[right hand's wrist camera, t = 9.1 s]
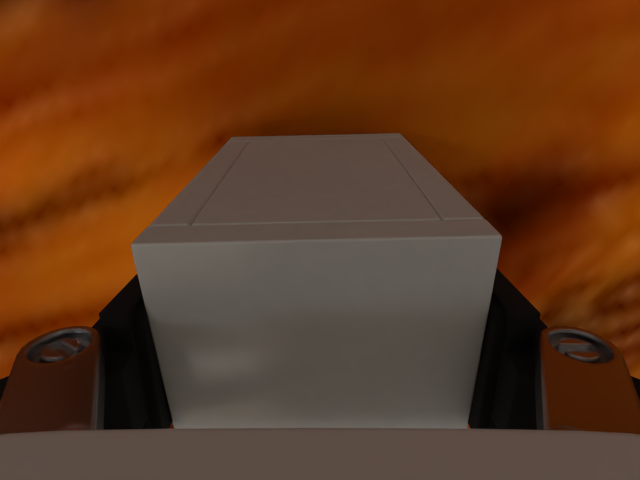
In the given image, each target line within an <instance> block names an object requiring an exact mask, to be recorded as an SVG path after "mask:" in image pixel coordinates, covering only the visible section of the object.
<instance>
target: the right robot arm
mask: <svg viewBox="0 0 640 480" xmlns="http://www.w3.org/2000/svg"><path fill="white" fill-rule="evenodd" d="M99 316H100V319H99V320H98V321H97V322H96V323H95V324H94V326H93V327H92V328H91V327H87V326H72V327H64V328H60V329H57V330H53V331H50V332H48V333H45V334H43V335H40V336H38V337H36V338H35V339H33V340H31V341H29V342H28V343H27V344H26V345H25V346H23V347H22V348H21V350H20V351H19V353H18V354H17V356H16V359H15V362H14V365H13V367H12V370H11V373H10V376H8V377H5V378H3V379H0V480H640V379H637V378H634V377H632V376H630V373H629V370H628V367H627V365H626V362H625V359H624V356H623V354H622V353H621V351H620V350H619V348H618V347H617V346H615V345H614V344H613V343H612V342H611V341H609V340H607V339H605V338H604V337H602V336H600V335H597V334H595V333H592V332H590V331H587V330H583V329H580V328H576V327H568V326H553V327H549V328H548V327H547V326H546V325H545V324H544V323H543V322H542V321H541V320H540V313H539V312H538V311H537V309H536V308H535V307H534V306H533V305H532V304H531V303H530V302H529V301H528V300H527V299H526V298H525V297H524V296H523V295H522V294H521V293H520V292H519V291H518V290H517V289H516V288H515V287H514V286H513V285H512V284H511V282H510V281H509V280H508V279H507V278H506V277H505V276H504V275H503V274H502V273H501V272H500V271H499V270H498V269H497V268H496V274H495V279H494V285H493V290H492V296H491V301H490V307H489V312H488V317H487V323H486V328H485V334H484V339H483V345H482V350H481V356H480V361H479V367H478V372H477V378H476V383H475V388H474V394H473V399H472V405H471V410H470V414H469V419H468V424H469V426H470V428H471V429H436V428H204V429H169V427H170V425H171V423H172V417H171V413H170V409H169V405H168V401H167V396H166V392H165V388H164V384H163V380H162V375H161V371H160V367H159V363H158V358H157V354H156V350H155V346H154V342H153V337H152V333H151V329H150V325H149V320H148V316H147V312H146V308H145V304H144V300H143V295H142V291H141V287H140V283H139V278H138V274H137V275H136V276H135V277H134V278H133V279H132V280H131V281H130V282H129V283H128V284H127V285H126V286H125V287H124V288H123V289H122V290H121V291H120V292H119V293H118V294H117V295H116V296H115V297H114V299H113V300H112V301H111V302H110V303H109V304H108V305H107V306H106V307H105V308H104V309H103V310H102V311H101V312H100V313H99Z"/></svg>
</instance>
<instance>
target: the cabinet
mask: <svg viewBox="0 0 640 480" xmlns="http://www.w3.org/2000/svg"><path fill="white" fill-rule="evenodd" d="M501 241H502V236H501V234H500V233H499V232H498V231H497V230H496V229H495V228H494V227H493V226H492V225H491V224H490V223H489V222H488V221H487V220H485V219H484V218H483V217H482V216H481V215H480V214H479V213H478V212H477V211H476V210H475V209H474V208H473V207H472V206H471V205H470V204H469V203H468V202H467V201H466V200H465V199H464V198H463V196H462V195H461V194H460V193H459V192H458V191H457V190H456V189H455V188H454V187H453V186H452V185H451V184H450V183H449V182H448V181H447V180H446V179H445V178H444V177H443V176H442V175H441V174H440V173H439V172H438V171H437V170H436V169H435V168H434V167H433V166H432V165H431V164H430V163H429V162H428V161H427V160H426V159H425V158H424V157H423V156H422V155H421V154H420V153H419V152H418V151H417V150H416V149H415V148H414V147H413V146H412V145H411V144H410V143H409V142H408V141H407V140H406V139H405V138H404V137H403V136H402V135H401V134H400V133H386V134H342V135H297V136H252V137H231V138H230V139H229V140H228V142H227V143H226V144H225V145H224V146H223V147H222V148H221V149H220V150H219V151H218V153H217V154H216V155H215V156H214V157H213V158H212V159H211V160H210V161H209V162H208V163H207V164H206V165H205V166H204V168H203V169H202V170H201V171H200V172H199V173H198V174H197V175H196V176H195V177H194V178H193V179H192V180H191V182H190V183H189V184H188V185H187V186H186V187H185V188H184V189H183V190H182V191H181V192H180V193H179V194H178V195H177V197H176V198H175V199H174V200H173V201H172V202H171V203H170V204H169V205H168V206H167V207H166V208H165V209H164V211H163V212H162V213H161V214H160V215H159V216H158V217H157V218H156V219H155V220H154V221H153V222H152V223H151V224H150V227H147V228H146V229H145V230H144V231H143V232H142V233H141V234H140V235H139V236H138V237H137V238H136V239H135V240H134V242H133V243H132V244H131V249H132V253H133V257H134V262H135V266H136V270H137V274H138V278H139V283H140V287H141V291H142V295H143V300H144V304H145V308H146V312H147V316H148V320H149V325H150V329H151V333H152V337H153V342H154V346H155V350H156V354H157V358H158V363H159V367H160V371H161V375H162V380H163V384H164V388H165V392H166V396H167V401H168V405H169V409H170V413H171V417H172V422H173V426H174V429H204V428H436V429H467V427H468V419H469V414H470V410H471V405H472V399H473V394H474V388H475V383H476V378H477V372H478V367H479V361H480V356H481V350H482V345H483V339H484V334H485V328H486V323H487V317H488V312H489V307H490V301H491V296H492V290H493V285H494V279H495V274H496V268H497V263H498V257H499V252H500V246H501Z"/></svg>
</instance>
